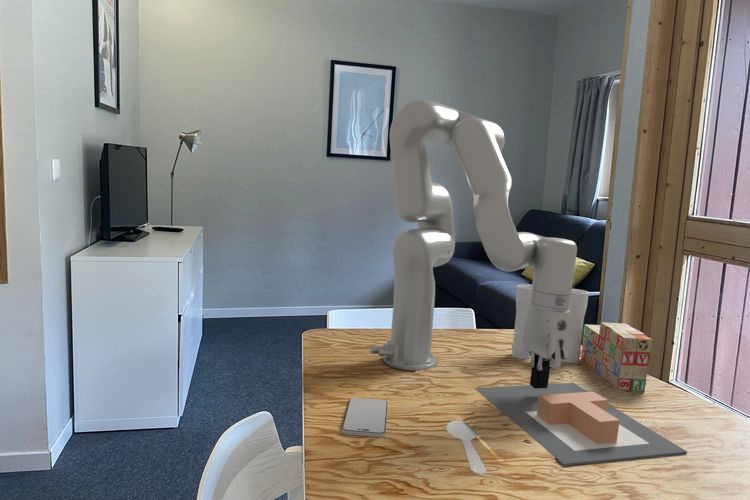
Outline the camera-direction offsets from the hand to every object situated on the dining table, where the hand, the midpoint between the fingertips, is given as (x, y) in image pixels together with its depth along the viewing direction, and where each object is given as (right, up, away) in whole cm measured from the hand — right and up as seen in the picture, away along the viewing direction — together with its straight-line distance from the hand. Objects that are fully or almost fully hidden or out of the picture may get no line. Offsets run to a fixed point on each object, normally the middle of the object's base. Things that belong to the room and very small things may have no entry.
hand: (538, 386), depth 113 cm
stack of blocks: (+22, -2, +18) cm, 28 cm away
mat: (+3, -4, -9) cm, 10 cm away
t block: (+4, -4, -14) cm, 15 cm away
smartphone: (-35, -3, -14) cm, 38 cm away
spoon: (-18, -5, -22) cm, 29 cm away
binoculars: (+9, 0, +26) cm, 28 cm away
